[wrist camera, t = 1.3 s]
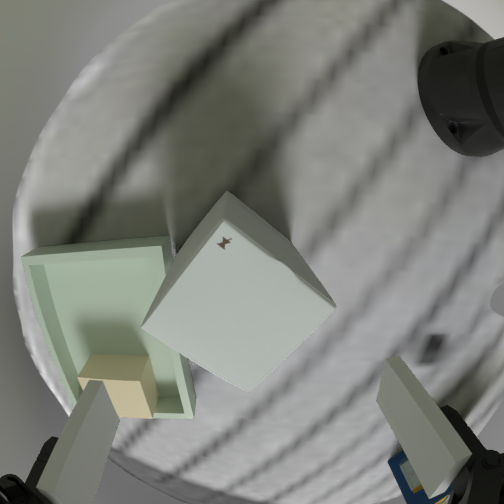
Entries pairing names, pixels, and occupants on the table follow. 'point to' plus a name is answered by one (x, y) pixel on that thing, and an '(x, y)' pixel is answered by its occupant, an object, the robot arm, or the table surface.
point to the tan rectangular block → (124, 382)
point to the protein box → (412, 482)
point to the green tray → (107, 311)
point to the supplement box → (237, 297)
